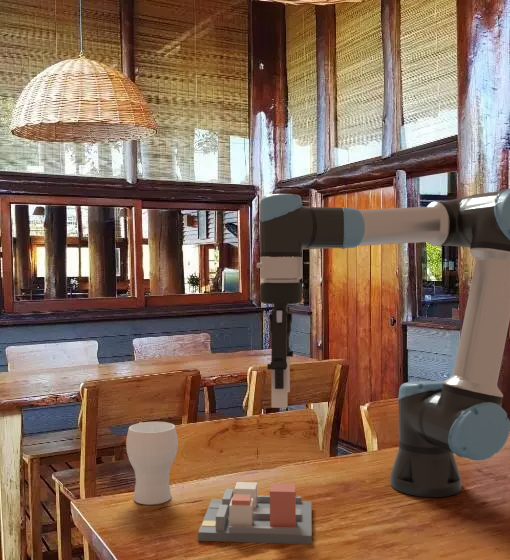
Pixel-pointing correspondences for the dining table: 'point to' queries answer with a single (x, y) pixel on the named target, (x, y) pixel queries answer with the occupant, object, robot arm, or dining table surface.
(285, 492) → the cap
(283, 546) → the dining table surface
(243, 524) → the block
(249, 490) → the block
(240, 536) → the panel
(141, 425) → the cup
